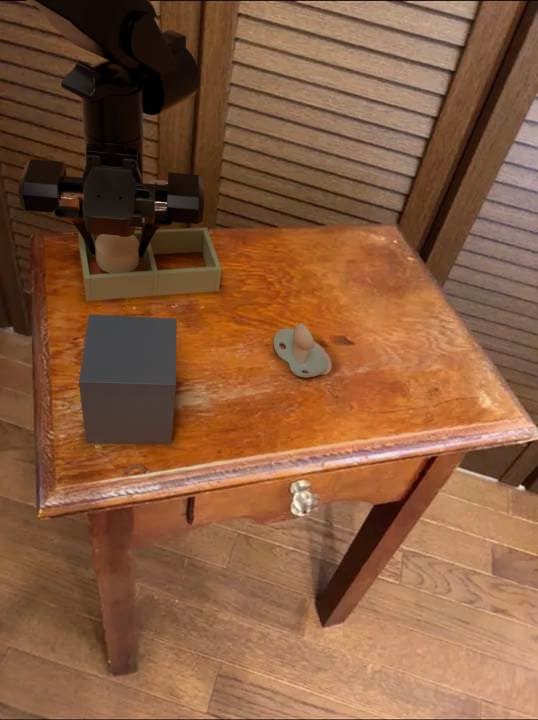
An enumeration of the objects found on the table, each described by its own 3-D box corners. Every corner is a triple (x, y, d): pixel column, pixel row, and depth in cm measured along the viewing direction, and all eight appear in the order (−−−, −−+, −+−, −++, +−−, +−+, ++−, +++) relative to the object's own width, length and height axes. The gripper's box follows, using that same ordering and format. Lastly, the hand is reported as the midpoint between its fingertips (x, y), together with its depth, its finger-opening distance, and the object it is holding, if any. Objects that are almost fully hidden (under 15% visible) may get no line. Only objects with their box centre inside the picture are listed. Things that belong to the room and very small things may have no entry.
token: (94, 272, 68) (92, 256, 66) (98, 245, 71) (97, 228, 69) (138, 275, 69) (138, 258, 67) (140, 248, 72) (140, 231, 70)
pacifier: (304, 333, 71) (264, 348, 68) (316, 294, 67) (275, 309, 64) (341, 374, 68) (301, 392, 65) (357, 336, 64) (315, 354, 60)
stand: (86, 447, 56) (78, 381, 49) (94, 382, 61) (88, 313, 54) (171, 448, 58) (176, 384, 50) (172, 384, 63) (176, 318, 55)
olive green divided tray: (87, 304, 68) (84, 278, 65) (80, 259, 73) (77, 232, 70) (218, 294, 73) (222, 269, 70) (204, 252, 78) (206, 227, 75)
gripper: (-5, 163, 51) (21, 296, 62) (211, 183, 54) (198, 305, 66) (18, 102, 58) (38, 231, 69) (207, 123, 61) (196, 243, 73)
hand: (117, 253), depth 69 cm, fingers closed on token, 5 cm apart
